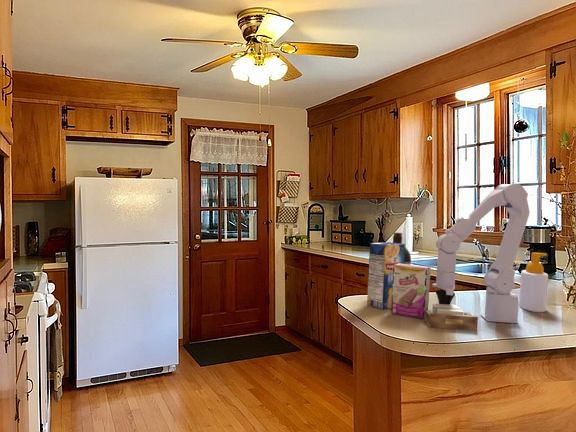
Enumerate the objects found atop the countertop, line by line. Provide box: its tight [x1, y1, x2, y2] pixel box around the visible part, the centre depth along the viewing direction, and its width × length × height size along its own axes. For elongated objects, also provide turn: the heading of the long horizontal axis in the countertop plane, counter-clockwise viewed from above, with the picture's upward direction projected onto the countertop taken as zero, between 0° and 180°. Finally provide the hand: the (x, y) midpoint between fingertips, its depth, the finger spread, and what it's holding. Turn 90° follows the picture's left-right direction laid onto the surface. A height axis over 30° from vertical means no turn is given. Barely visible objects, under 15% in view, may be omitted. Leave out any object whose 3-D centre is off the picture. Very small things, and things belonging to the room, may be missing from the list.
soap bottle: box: [518, 252, 549, 313], centre depth 172 cm, size 13×8×20 cm, turn 168°
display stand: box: [424, 309, 479, 332], centre depth 145 cm, size 14×10×4 cm
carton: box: [431, 303, 464, 315], centre depth 149 cm, size 8×9×4 cm
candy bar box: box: [390, 263, 432, 320], centre depth 155 cm, size 11×5×16 cm, turn 59°
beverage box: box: [366, 241, 406, 310], centre depth 168 cm, size 7×11×22 cm, turn 130°
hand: (443, 312), depth 155 cm, fingers closed
